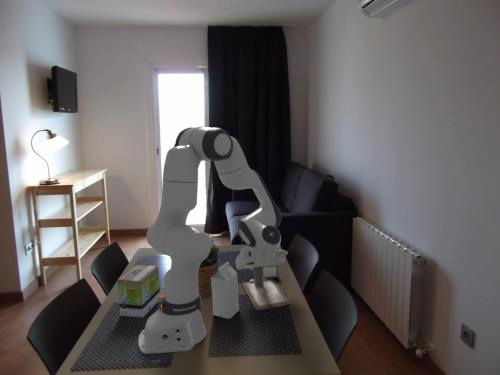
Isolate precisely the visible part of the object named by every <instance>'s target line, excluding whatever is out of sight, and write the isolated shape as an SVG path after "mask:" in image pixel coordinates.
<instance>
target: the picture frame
mask: <svg viewBox="0 0 500 375" xmlns="http://www.w3.org/2000/svg"><path fill="white" fill-rule="evenodd" d="M278 265H279V264H277V265H270V266H268V267H267V268H263V277H264V278H266V279H271V278H273V279H275V278H276V279H277V278H278V277H279V275H278V271H279V270H278V267H279V266H278Z"/></svg>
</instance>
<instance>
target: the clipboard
mask: <svg viewBox="0 0 500 375" xmlns="http://www.w3.org/2000/svg"><path fill="white" fill-rule="evenodd" d="M241 285H242V287H243V289H244V291H245V293H246V295H247V297H248V299H249V300H250V302H251V304H252V305H253V308H254V309H255V311H256V312H257V311H262V310H269V309H275V308H280V307H281V308H282V307H287V306H292V303H291V301H290V300H289V299H288V297H287V296H286V294H285V293H284V291H282V289H281V288H280V286H279V285H278V284H277V283H276V281H275V279H274V278H270V279H266V278H264V285H263V286H260V287H257V286H255V285H254V278H253V279H249V281H246V282H241Z"/></svg>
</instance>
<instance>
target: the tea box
mask: <svg viewBox="0 0 500 375" xmlns="http://www.w3.org/2000/svg"><path fill="white" fill-rule="evenodd" d="M159 273H160V272H159V266H158V265H145V264H144V265H143V264H136V265H135V266H133V267H132V268H130V269H129V270H128V271H126V273H124V274H123V275H122V276H121V277H119V278H118V279H117V292H118V303H119V304H118V305H119V315H120V316H122V317H133V318H144V317H145V316H146V315H147V314H148V313H149V312H150V311H151V310H152V308H154V307H155V306H156V305H157V304H158V303H159V302H158V297H159V296H160V295H161V286H160V285H161V284H160V274H159Z"/></svg>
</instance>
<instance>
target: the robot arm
mask: <svg viewBox="0 0 500 375" xmlns="http://www.w3.org/2000/svg"><path fill="white" fill-rule="evenodd" d="M204 161H205V162H207V161H213V163H214V166H215V169H216V171H217V174H218V178H219V179H220V181H221V183H222V184H223V186H225V187H226V188H228V189H231V190H237V191H240V190H241V191H242V190H246V189H252V190H253V192H254V195H255V196H256V198H257V200H258V202H259V207H258V208H257V209H256V210H254V211H253V212H251V213H249V214H248V215H246V216H244V217H243V218H242V219H240V220H239V221H238V224H237V233H238V236H239V237H240V239H241V240H242V242H244V244H246V245H247V247H243V248H241V249H240V252H239V254H238V255H237V256H236V259H235V266H236V269H237V270H245V269H247V270H248V269H250V271H254V269H255V267H262V266H263V268H267V267H268V266H270V265H282V264H284V263H285V262H286V259H287V258H286V256H287V255H288V250H285V249H280V246H281V242H282V235H281V233H280V232H281V231H280V230H279V229H278V228H277V227H280V225H281V223H282V218H283V217H282V216H283V215H282V212H281V210H280V208H279V207H278V206H277V204H276V203H275V200H274V199H273V197H272V195H271V193H270V191H269V189H268V188H267V185H266V183H265V181H264V179H263V178H262V176H261V174H260V173H259V172H258V171H256V170H255V169H252V168H250V166H249V163H248V162H247V158H246V156H245V154H244V150H242V147H241V145H240V144H239V141H238V140H237V139H236V138H235V137H233V136H231V135H230V134H229V132H228V131H226V130H225V129H223V128H221V127H208V126H207V127H206V126H195V127H187V128H185V129H182V130H181V131H180V132H179V133H178V135H177V136H176V139H175V143H174V145H173V146H172V147H171V148H170V149H168V150H167V153H166V156H165V159H164V166H163V173H162V186H161V187H162V189H161V203H160V208H159V211H158V214H157V217H156V218H155V219H156V220H155V221H154V222H153V223H152V224H151V225H150V226H149V228H148V229H147V231H146V241H147V244H148V245H149V246H150V247H151V248H152V249H153V250H155V251H156V252H158V253H159V254H162V255H164V256H168V257H170V260H171V262H170V263H171V265H170V269H168V270H167V271H166V272H165V274H164V275H163V285H164V286H163V287H164V295H163V294H160V296H159V297H158V302H157V303H159V309H157V311H155V312H154V313H152V314H151V315H150V316H149V317H148V318H147V320H146V322H145V326H144V329H142V331H140V334H139V335H138V340H137V341H138V343H137V344H138V345H137V346H138V349H139V351H140V352H141V353H142V354H144V355H149V354H165V353H178V352H179V353H180V352H189V351H191V350H192V349H194V347H195V345H197V344H199V343H201V342H202V341H203V340H204V339H205V338H206V336H207V333H208V332H207V329H206V328H207V327H206V326H205V323H204V320H203V319H204V318H203V315H202V307H203V306H202V297H201V293H200V288H199V269H200V266H201V264H202V262H203V261H205V260H206V259H207V258H208V256H209V255H210V253H211V249H212V241H211V237H210V235H209V234H207V233H206V232H205V231H203V230H201V229H200V228H198V227H194V226H192V225H187V219H188V216H189V214H190V212H191V211H193V210H194V209H195V208H196V207H197V205H198V204H197V203H198V190H199V189H198V186H199V166H200V165H201V163H202V162H204Z"/></svg>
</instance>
